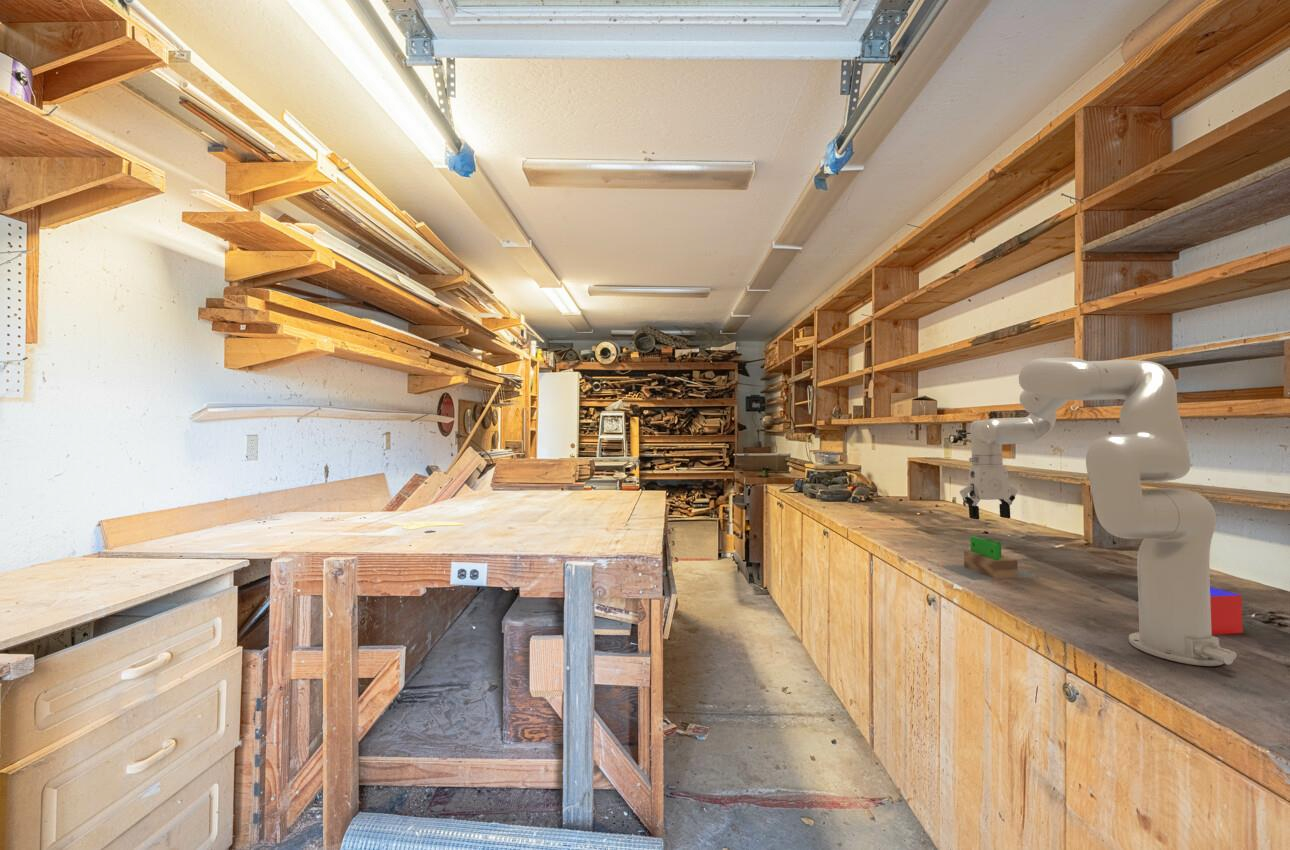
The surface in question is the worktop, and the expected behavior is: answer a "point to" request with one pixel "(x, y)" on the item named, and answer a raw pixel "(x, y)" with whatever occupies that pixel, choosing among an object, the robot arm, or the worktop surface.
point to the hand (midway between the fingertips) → (989, 518)
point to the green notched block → (986, 547)
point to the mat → (977, 576)
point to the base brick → (991, 565)
